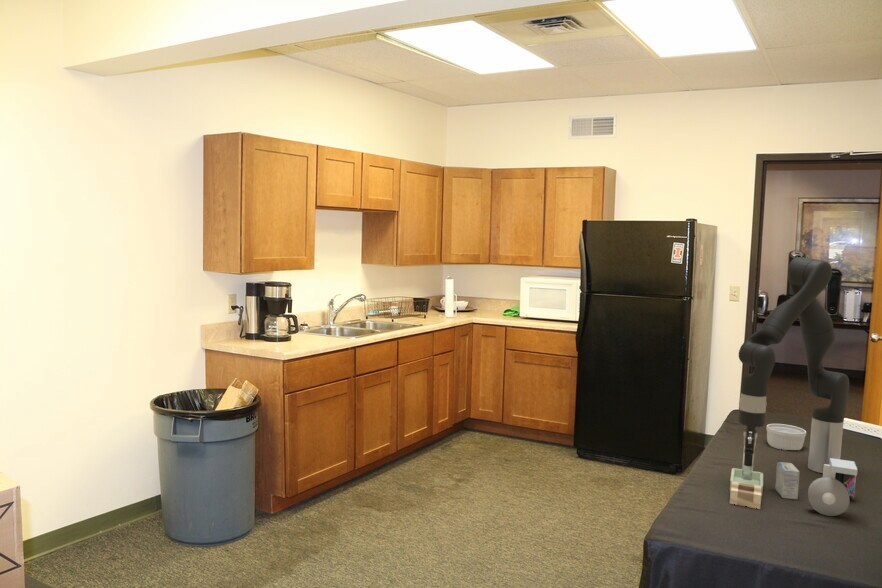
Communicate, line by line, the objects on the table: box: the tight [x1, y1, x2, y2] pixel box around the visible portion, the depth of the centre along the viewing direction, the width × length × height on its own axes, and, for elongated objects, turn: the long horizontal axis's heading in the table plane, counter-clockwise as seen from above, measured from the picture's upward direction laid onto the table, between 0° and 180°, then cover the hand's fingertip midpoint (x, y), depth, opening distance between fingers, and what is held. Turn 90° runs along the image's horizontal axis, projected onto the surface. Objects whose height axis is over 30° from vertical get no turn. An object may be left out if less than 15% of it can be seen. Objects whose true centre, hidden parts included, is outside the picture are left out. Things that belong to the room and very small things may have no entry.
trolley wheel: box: [807, 458, 858, 517], centre depth 198 cm, size 8×11×15 cm
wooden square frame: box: [729, 482, 762, 510], centre depth 205 cm, size 8×8×4 cm
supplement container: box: [835, 463, 858, 502], centre depth 211 cm, size 7×7×10 cm
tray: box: [729, 467, 764, 498], centre depth 218 cm, size 14×9×3 cm, turn 156°
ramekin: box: [765, 423, 807, 451], centre depth 262 cm, size 13×13×7 cm
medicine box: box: [774, 461, 800, 501], centre depth 212 cm, size 8×4×9 cm, turn 168°
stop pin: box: [741, 445, 756, 480], centre depth 217 cm, size 3×3×10 cm
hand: (748, 463), depth 217 cm, fingers closed on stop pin, 3 cm apart
